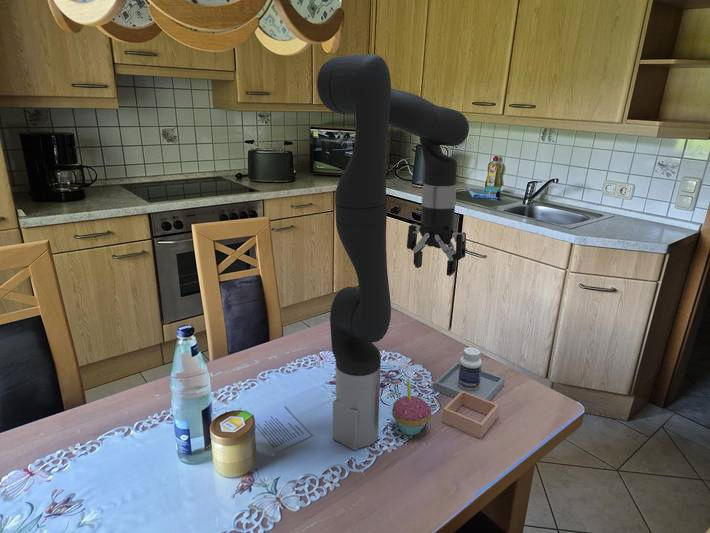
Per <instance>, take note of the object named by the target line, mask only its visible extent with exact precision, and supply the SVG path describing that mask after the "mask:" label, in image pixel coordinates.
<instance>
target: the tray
mask: <svg viewBox="0 0 710 533" xmlns="http://www.w3.org/2000/svg"><path fill="white" fill-rule="evenodd" d="M459 363H460V361H457V362H456V363H454V364H453V365H452V366H451V367H450V368H448V369H447V370H446V371H445V372H444V373H443V374H442V375H440V377H438V378H437V379H436V380H435V381H434V382H433V390H434V391H437V392H439V393H441V394H444V395H447V396H449V397H451V398H452V399H454V398H455V397H456V396H457V395H458V394H459V393H460V392H461V391H465V392H467V393H470V394H472V395H475V396H478V397H480V398H483V399H485V400H488V401H490V402H491V401H492V399H493V398H494V397H495V396H496V395H497V393H498V392H499V391H500V390H501V389H502V388H503V387H504V384H505V377H502V376H500V375H497V374H495V373H492V372H488V371H486V370H482V369H481V376H480V385H479V388H478V389H476V390H465V389H462V388H461V387H460V386H459V385H458V374H459Z"/></svg>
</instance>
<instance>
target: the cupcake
mask: <svg viewBox="0 0 710 533" xmlns="http://www.w3.org/2000/svg"><path fill="white" fill-rule="evenodd" d="M406 384H407V385H406V386H407V395H405V396H404V395H403V396H402V397H400V398H398V399H396V400H395V401H394V402H393V404H392V409H391V410H392V411H391V413H392V414H391V415H392V417H393V418H394V419H395V421H396V423H397V424H398V425H397V426H398V428H399V431H400V432H401V433H403V434H404V435H408V436H414V435H418V434H419V433H420V432H421V431H422V428H423V426H424V424H426V423H427V422H428V421H431V418H432V408H431V406H430V405H429V403H428V402H426V401H425V400H424V399H423V398H421V397H419V396H414V395H412V393H411V392H412V391H411V380H410V378H409V376H407V380H406Z"/></svg>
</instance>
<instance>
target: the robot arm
mask: <svg viewBox="0 0 710 533" xmlns="http://www.w3.org/2000/svg"><path fill="white" fill-rule="evenodd" d="M317 74H318V75H317V79H316V89H317V90H316V91H317V93H318V94H317V95H318V96H319V100H320V101H321V103H322V104H323V106H325V108H327V109H329V110H330V111H331V112H332V113H336V114H340V115H351V116H352V115H353V116H355V133H354V135H355V136H354V137H355V138H354V139H355V140H354V145H353V150H352V153H351V156H350V158H349V160H348V163H347V164H346V167H345V168H344V170H343V172H342V174H341V176H340V178H339V180H338V182H337V186H336V189H335V193H334V212H335V228H336V232H337V234H338V237H339V240H340V241H341V244H342V247H343V248H344V250H345V252H346V254H347V256H348V258H349V260H350V262H351V263H352V265H353V268H354V270H355V274H356V276H357V281H358V282H357V283H358V287H354V286H346V287H343V288H342V289H340V290H339V291H338V292H337V293H336V295H335V296H334V298H333V299H332V303H331V306H330V313H329V323H330V324H329V325H330V341H331V351H332V355H333V357H334V359H335V399H334V400H332V439H333V440H335V441H336V442H339V443H340V444H342V445H343V446H345V447H347V448H349V449H351V450H353V451H357V450H358V449H362V448H366V447H369V446H371V445H373V444H374V443H375V442H376V441H377V440H378V438H379V430H380V429H379V428H380V426H379V424H380V422H379V421H380V396H381V394H380V391H381V368H382V367H381V366H382V365H381V364H382V363H381V362H382V361H381V360H382V359H381V357H382V356H381V355H382V354H381V352H380V350H379V349H378V348H379V347H377V346H376V345H375V344H374V343H377V342H379V341H381V340H382V339H384V337H385V336H386V335H387V333H388V329H389V327H390V324H391V318H392V304H391V293H390V283H389V273H388V272H389V271H388V262H387V261H388V259H387V258H388V257H387V221H388V220H387V216H388V215H387V212H388V211H387V206H388V205H387V204H388V203H387V149H388V148H387V147H388V145H387V144H388V133H389V132H388V131H389V126H392V127H394V128H397V129H400V130H401V131H404V132H406V133H409V134H410V135H413V136H416V137H419V142H420V146H421V152H422V156H423V157H422V158H423V162H424V180H423V181H424V182H423V189H422V192H421V193H422V196H421V207H420V208H421V210H420V212H421V213H420V222H421V225H419V224H418V223H417V222H416V223H412V224H410V225H409V226H408V228H407V229H408V230H407V238H406V249H407V250H411V251H412V252H413V265H414V268H415V269H419V268H421V267H422V265H423V255H424V254H423V251H422V250H423V249H424V248H425V247H426V246H427V247H430V248H431V247H434V248H435V249H440V250H442V253H444V254H445V255H446V257H447V259H448V260H447V263H446V276H449V277H451V276H453V274H455V272H456V271H457V260H458V261H461V260H462V259H464V258H466V252H467V250H466V249H467V248H466V247H467V246H466V245H467V233H466V232H464V231H463V232H456V231H455V230H454V222H455V211H456V204H457V200H456V198H457V197H456V196H457V194H456V193H457V192H456V185H457V184H456V183H457V172H458V163H457V160H456V159H455V158H453V157H451V156H448V155H446V154H445V153H444V152H443V150H442V147H441V146H444V147H446V146H447V147H456V146H459V145H461V144H463V143H464V142H465V141H466V139H467V137H468V136H469V133H470V132H469V130H470V125H469V121H468V118H467V117H466V115H464V114H463V113H462V112H461V111H458V110H455V109H452V108H450V107H445V106H440V105H437V104H434V103H433V102H431V101H429V100H428V99H426V98H423V97H422V96H420V95H417V94H414V93H412V92H409V91H404V90H400V89H396V88H392V80H391V73H390V68H389V67H388V64H387V62H386V61H385V59H384V58H383V57H382V56H381V55H379V54H376V53H375V54H373V53H368V54H352V55H351V54H349V55H339V56H335V57H332V58H330V59H328V60H327V61H325V62H324V63H322V65H321V67H320V68H319V71H318V73H317ZM418 234H420V236H421V237H422V238H420V240H419V241H417V240H418ZM452 240H453V241H454V242H455V245H454V243H453V242H452Z"/></svg>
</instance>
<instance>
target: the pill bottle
mask: <svg viewBox="0 0 710 533" xmlns="http://www.w3.org/2000/svg"><path fill="white" fill-rule="evenodd" d="M462 354H463V355H462V356H460V358H459V362H460V363H459V374H458V385H459V386H460V387H461V388H462V389H465V390H476V389H478V388H479V385H480V376H481V370H482V368H483V367H482V365H483V360H482V359H481V351H480V350H479V349H478V348H476V347H472V346H469V347H465V348H464V349H463V353H462Z"/></svg>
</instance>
